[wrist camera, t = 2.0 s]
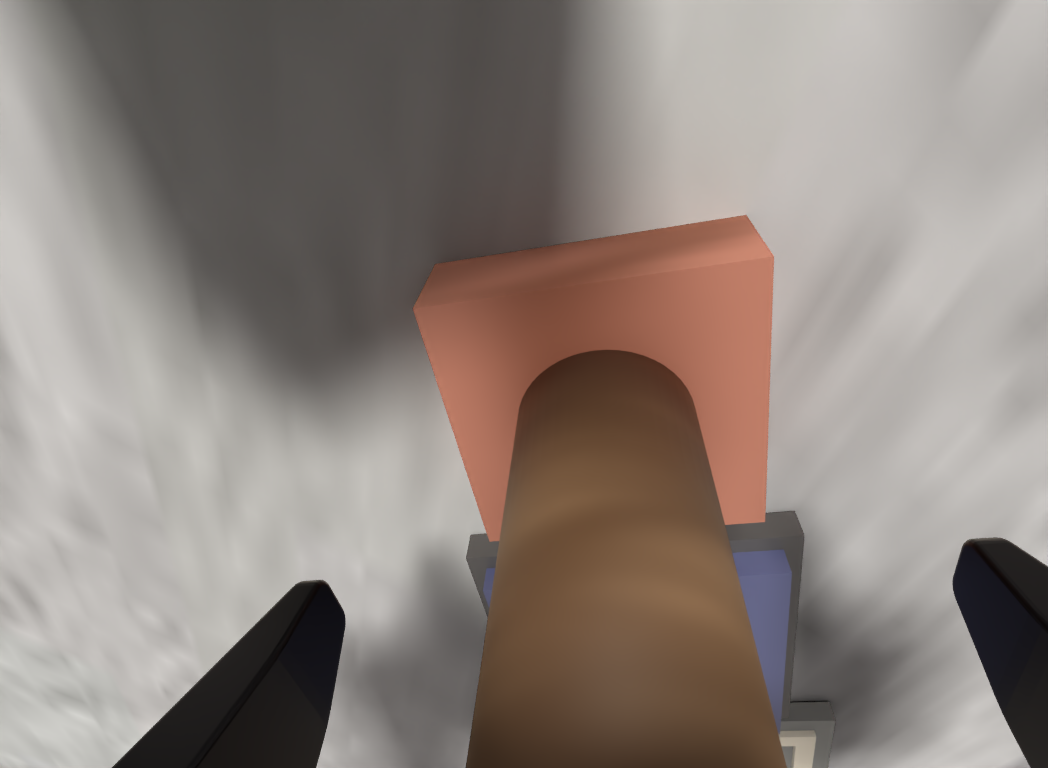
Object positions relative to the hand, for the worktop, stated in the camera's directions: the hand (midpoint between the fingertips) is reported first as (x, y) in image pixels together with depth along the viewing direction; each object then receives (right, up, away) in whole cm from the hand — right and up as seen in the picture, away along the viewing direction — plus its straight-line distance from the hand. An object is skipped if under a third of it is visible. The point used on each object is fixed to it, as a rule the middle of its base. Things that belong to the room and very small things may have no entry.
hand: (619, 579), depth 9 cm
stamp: (0, +3, +5) cm, 6 cm away
